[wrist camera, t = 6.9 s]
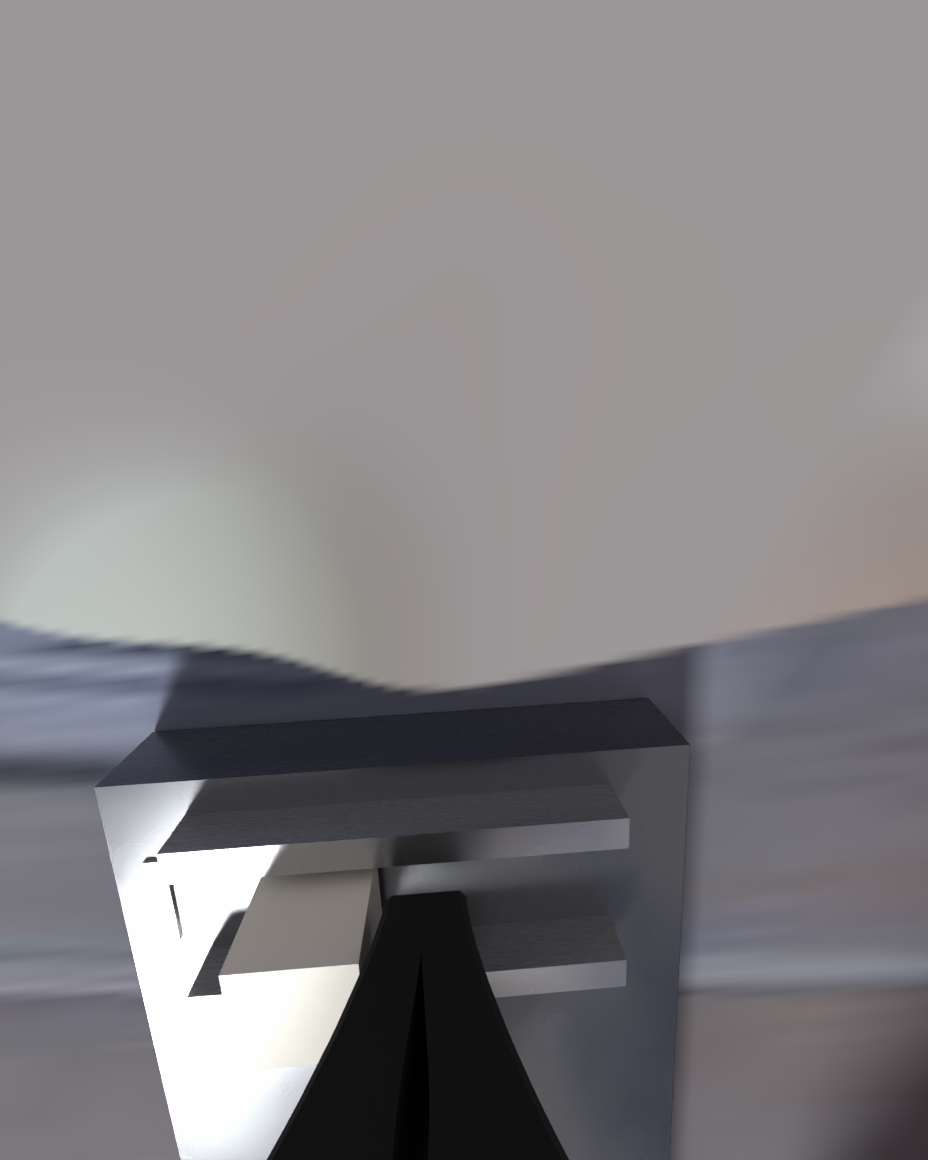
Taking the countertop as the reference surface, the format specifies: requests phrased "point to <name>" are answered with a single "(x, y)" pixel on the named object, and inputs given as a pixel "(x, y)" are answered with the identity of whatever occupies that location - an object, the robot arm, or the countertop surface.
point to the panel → (423, 865)
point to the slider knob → (297, 964)
